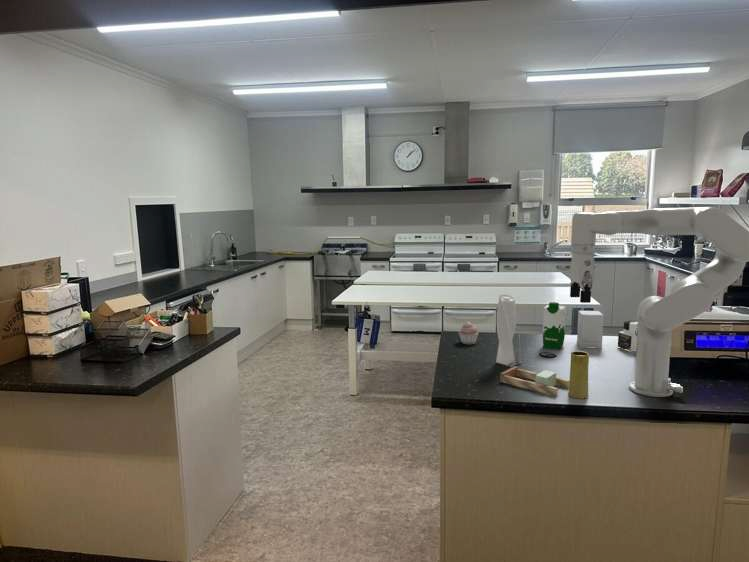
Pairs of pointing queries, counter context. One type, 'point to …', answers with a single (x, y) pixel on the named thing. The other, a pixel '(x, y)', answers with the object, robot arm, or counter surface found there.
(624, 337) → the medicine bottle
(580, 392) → the vase
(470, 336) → the cupcake
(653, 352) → the robot arm
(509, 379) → the track
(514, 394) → the counter surface
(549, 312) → the milk carton
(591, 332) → the supplement box
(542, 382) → the block
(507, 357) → the skyscraper
